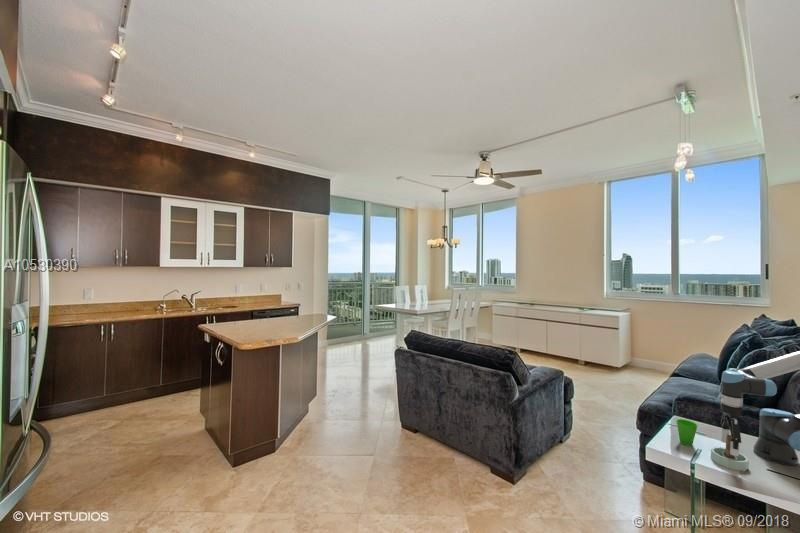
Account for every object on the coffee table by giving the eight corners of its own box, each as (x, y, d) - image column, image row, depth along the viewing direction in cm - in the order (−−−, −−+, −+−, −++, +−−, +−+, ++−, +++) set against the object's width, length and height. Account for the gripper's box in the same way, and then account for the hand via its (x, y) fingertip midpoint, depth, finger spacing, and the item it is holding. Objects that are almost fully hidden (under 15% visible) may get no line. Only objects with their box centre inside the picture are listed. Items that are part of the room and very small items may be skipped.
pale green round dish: (742, 460, 168) (742, 452, 168) (752, 473, 157) (752, 464, 157) (708, 452, 174) (708, 444, 174) (715, 464, 163) (715, 456, 163)
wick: (731, 460, 166) (733, 435, 166) (733, 462, 164) (735, 438, 163) (724, 458, 168) (726, 434, 167) (726, 461, 165) (728, 436, 165)
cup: (701, 448, 178) (702, 427, 178) (681, 446, 180) (682, 425, 179) (690, 440, 187) (691, 419, 186) (671, 437, 188) (672, 417, 188)
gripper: (713, 394, 178) (711, 435, 178) (729, 411, 156) (727, 458, 157) (733, 397, 174) (731, 439, 175) (752, 416, 153) (750, 463, 153)
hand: (729, 448), depth 166 cm, fingers open, 13 cm apart
